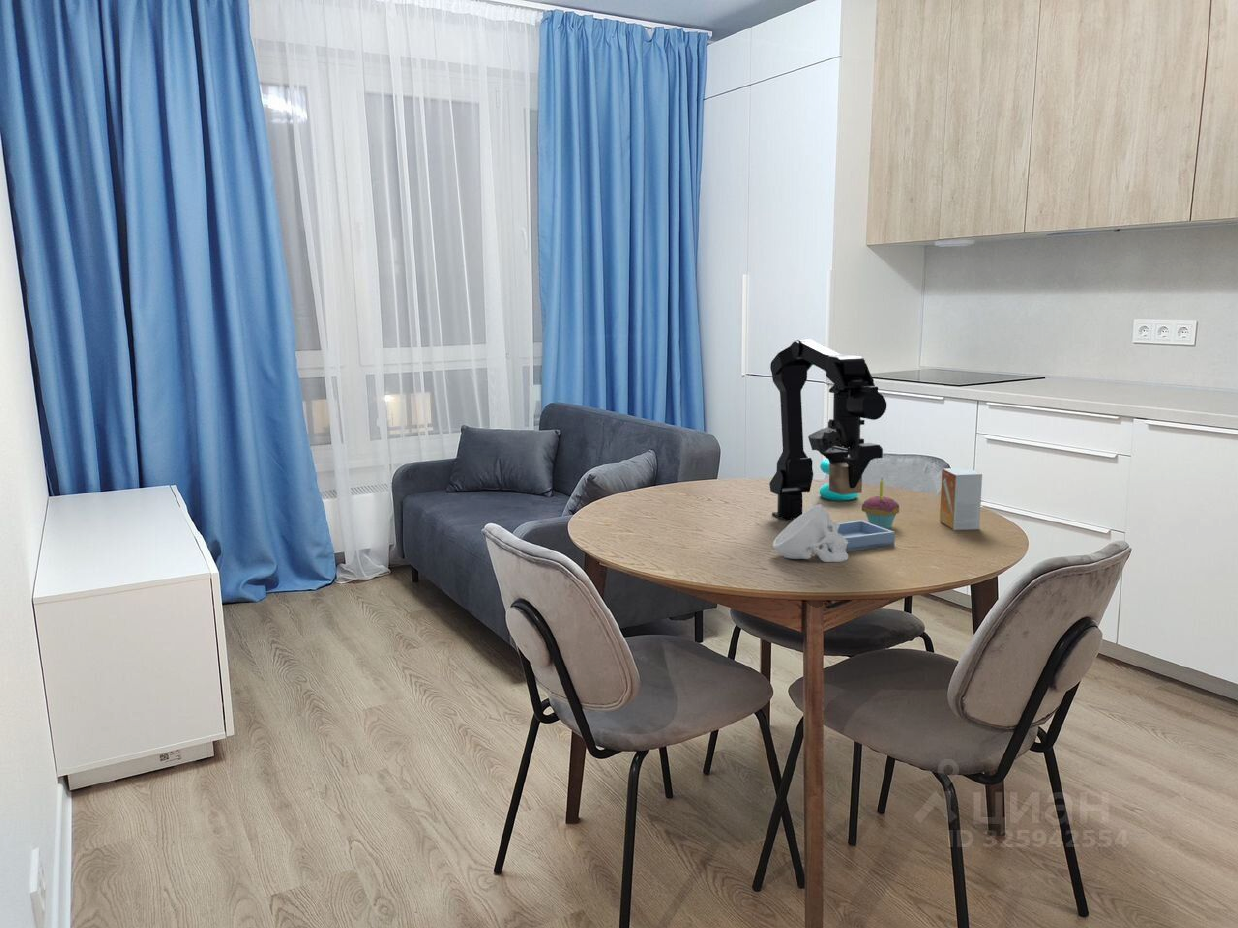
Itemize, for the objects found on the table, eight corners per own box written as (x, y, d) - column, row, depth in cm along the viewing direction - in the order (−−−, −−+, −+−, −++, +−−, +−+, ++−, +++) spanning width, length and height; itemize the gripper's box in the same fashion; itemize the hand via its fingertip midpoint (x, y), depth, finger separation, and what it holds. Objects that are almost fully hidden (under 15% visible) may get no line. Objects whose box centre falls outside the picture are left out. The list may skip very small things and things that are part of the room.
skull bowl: (859, 559, 182) (827, 508, 181) (799, 593, 185) (767, 543, 184) (855, 544, 192) (824, 496, 191) (797, 576, 195) (767, 529, 194)
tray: (810, 539, 202) (810, 526, 202) (862, 532, 207) (862, 520, 206) (840, 552, 192) (841, 538, 191) (894, 545, 196) (894, 531, 196)
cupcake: (900, 531, 207) (902, 480, 205) (862, 530, 209) (863, 479, 207) (896, 522, 216) (898, 472, 213) (860, 521, 217) (861, 472, 215)
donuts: (850, 465, 234) (814, 462, 240) (849, 503, 236) (813, 498, 242) (864, 459, 242) (829, 456, 248) (863, 496, 244) (828, 492, 250)
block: (828, 490, 200) (829, 463, 199) (848, 488, 202) (848, 461, 201) (841, 494, 195) (842, 467, 194) (861, 492, 197) (862, 465, 196)
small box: (939, 521, 216) (941, 467, 213) (965, 521, 216) (968, 467, 213) (952, 530, 208) (955, 474, 205) (980, 529, 208) (983, 473, 206)
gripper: (791, 413, 202) (791, 482, 204) (839, 422, 184) (838, 497, 187) (834, 410, 205) (833, 477, 208) (885, 418, 188) (883, 492, 191)
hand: (845, 486), depth 198 cm, fingers closed on block, 5 cm apart
